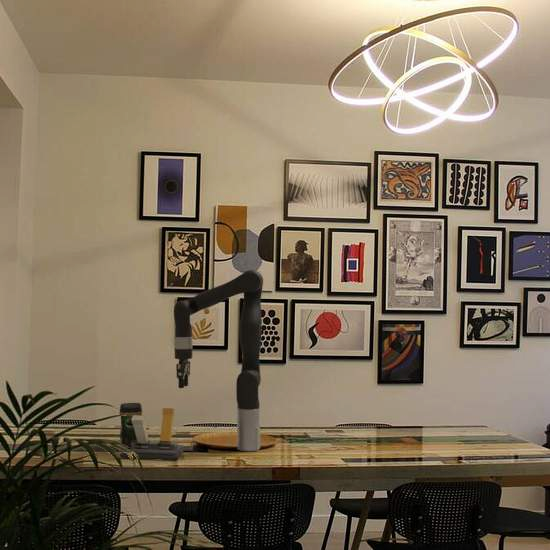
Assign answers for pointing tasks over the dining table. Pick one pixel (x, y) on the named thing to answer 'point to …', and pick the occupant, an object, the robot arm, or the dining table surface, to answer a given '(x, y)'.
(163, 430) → the breaker lever
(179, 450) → the breaker panel
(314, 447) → the dining table surface
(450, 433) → the dining table surface
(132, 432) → the coffee jar
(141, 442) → the lever
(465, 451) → the dining table surface
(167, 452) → the grey flat bar
